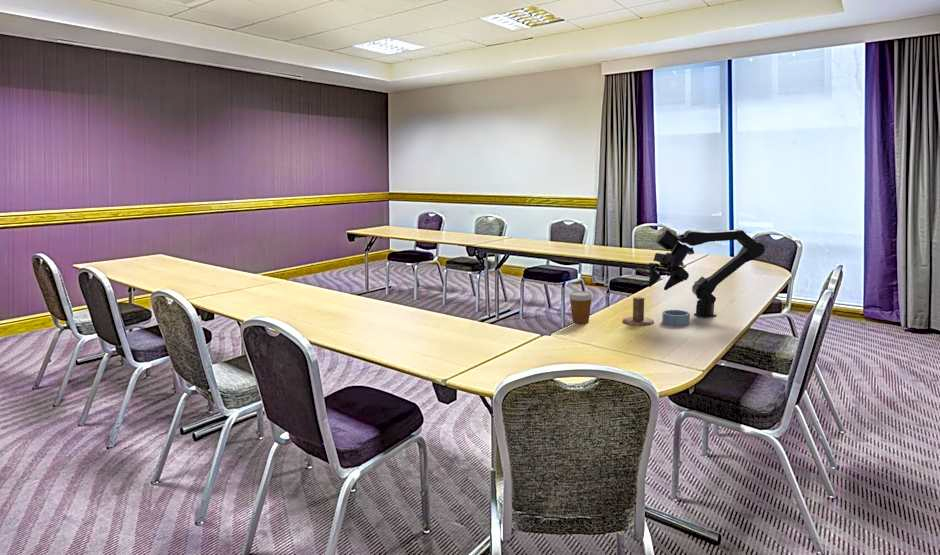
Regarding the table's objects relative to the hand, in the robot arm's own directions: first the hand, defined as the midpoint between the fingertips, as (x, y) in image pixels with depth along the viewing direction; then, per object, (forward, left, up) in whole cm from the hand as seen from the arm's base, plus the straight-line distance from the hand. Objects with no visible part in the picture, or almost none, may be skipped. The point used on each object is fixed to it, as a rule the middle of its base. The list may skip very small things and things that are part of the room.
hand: (656, 288), depth 241 cm
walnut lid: (+8, -1, -13) cm, 16 cm away
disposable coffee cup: (+28, -12, -13) cm, 33 cm away
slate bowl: (-4, +7, -13) cm, 15 cm away
